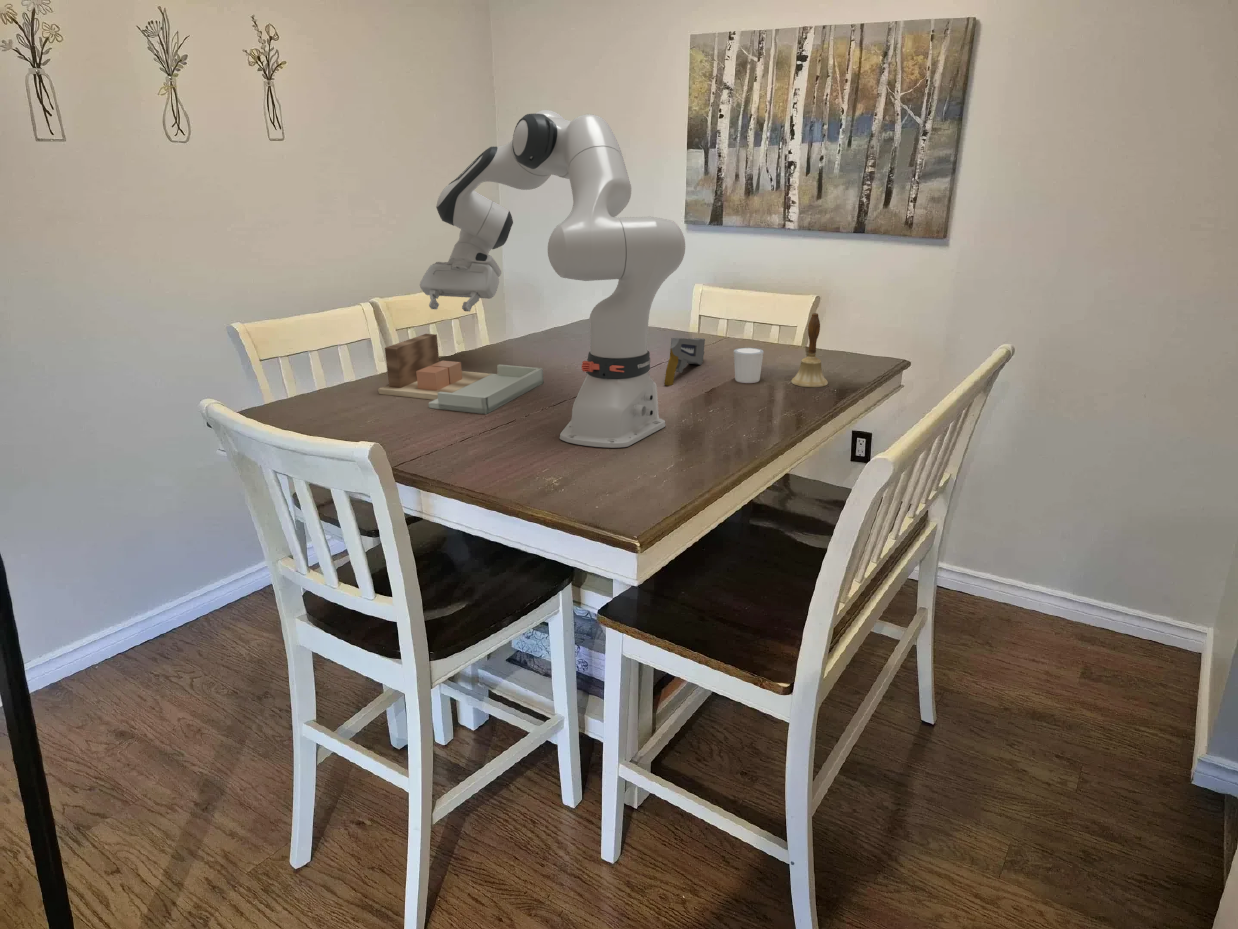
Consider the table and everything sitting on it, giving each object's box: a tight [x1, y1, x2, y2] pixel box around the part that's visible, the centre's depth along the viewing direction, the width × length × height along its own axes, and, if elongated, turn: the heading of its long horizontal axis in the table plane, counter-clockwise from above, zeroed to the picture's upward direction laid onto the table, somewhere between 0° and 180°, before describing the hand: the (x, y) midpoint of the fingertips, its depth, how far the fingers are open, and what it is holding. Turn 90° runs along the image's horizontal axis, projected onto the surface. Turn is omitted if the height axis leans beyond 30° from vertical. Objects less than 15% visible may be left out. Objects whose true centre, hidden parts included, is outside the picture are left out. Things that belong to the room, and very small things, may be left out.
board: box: [377, 370, 492, 401], centre depth 192 cm, size 20×18×1 cm
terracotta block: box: [416, 366, 449, 391], centre depth 187 cm, size 5×5×4 cm
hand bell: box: [790, 312, 829, 388], centre depth 188 cm, size 8×8×16 cm
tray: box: [428, 364, 544, 415], centre depth 184 cm, size 26×14×4 cm, turn 158°
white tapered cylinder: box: [733, 347, 764, 384], centre depth 192 cm, size 7×7×7 cm
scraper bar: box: [384, 333, 440, 388], centre depth 192 cm, size 16×3×9 cm, turn 158°
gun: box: [664, 337, 706, 387], centre depth 200 cm, size 3×25×15 cm, turn 158°
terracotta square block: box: [430, 360, 463, 384], centre depth 191 cm, size 5×5×4 cm
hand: (449, 308), depth 203 cm, fingers open, 8 cm apart
